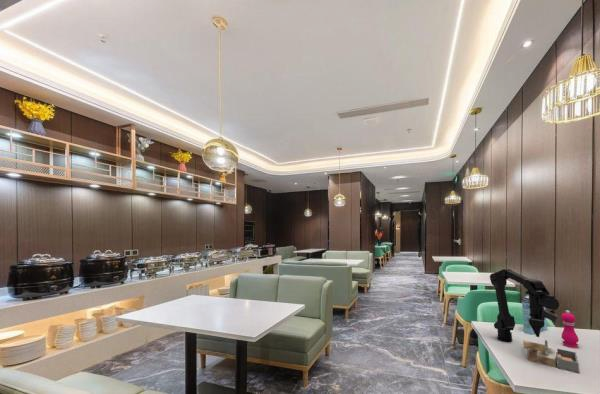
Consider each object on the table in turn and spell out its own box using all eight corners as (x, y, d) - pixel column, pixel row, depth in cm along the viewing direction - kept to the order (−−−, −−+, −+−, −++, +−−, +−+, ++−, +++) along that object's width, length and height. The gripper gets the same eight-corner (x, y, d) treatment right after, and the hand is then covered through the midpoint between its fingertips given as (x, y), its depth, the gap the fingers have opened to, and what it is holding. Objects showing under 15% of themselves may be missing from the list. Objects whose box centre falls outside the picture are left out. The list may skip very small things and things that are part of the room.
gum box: (538, 327, 194) (536, 293, 196) (547, 330, 190) (545, 294, 192) (523, 332, 186) (520, 296, 188) (532, 335, 181) (529, 298, 183)
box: (557, 367, 140) (556, 358, 141) (556, 356, 152) (555, 348, 152) (579, 373, 135) (578, 363, 136) (576, 361, 147) (575, 352, 147)
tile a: (557, 357, 142) (561, 357, 141) (557, 354, 145) (560, 354, 144) (558, 365, 142) (561, 366, 141) (558, 362, 145) (561, 363, 144)
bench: (527, 360, 148) (527, 352, 149) (528, 351, 159) (528, 343, 159) (556, 367, 141) (555, 358, 141) (555, 357, 152) (554, 349, 152)
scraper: (522, 350, 150) (522, 342, 151) (524, 343, 159) (523, 335, 160) (548, 356, 144) (547, 348, 144) (547, 348, 153) (547, 340, 153)
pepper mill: (582, 349, 161) (579, 312, 163) (567, 348, 162) (564, 311, 164) (573, 343, 168) (570, 308, 170) (559, 342, 169) (556, 308, 171)
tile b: (572, 361, 143) (572, 364, 143) (571, 358, 146) (572, 361, 146) (561, 359, 146) (561, 361, 146) (561, 356, 149) (561, 358, 149)
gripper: (556, 311, 141) (558, 344, 140) (555, 303, 155) (558, 333, 154) (527, 307, 149) (529, 338, 147) (529, 299, 163) (531, 327, 161)
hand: (538, 334), depth 152 cm, fingers open, 9 cm apart
